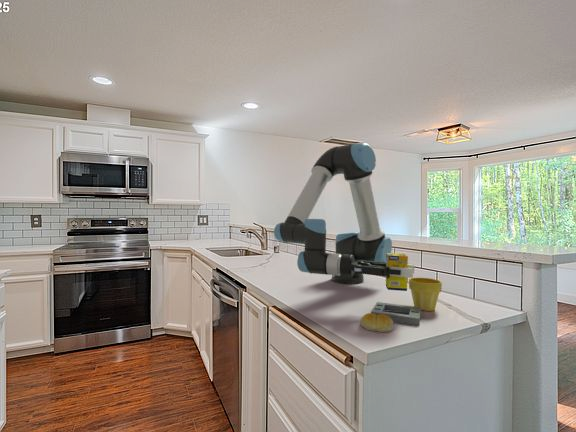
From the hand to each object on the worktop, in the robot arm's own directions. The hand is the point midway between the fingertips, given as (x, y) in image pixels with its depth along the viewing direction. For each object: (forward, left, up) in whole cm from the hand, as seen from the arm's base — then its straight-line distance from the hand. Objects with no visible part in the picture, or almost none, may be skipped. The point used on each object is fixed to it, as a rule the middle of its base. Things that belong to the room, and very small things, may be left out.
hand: (413, 271), depth 98 cm
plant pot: (-13, +3, -15) cm, 20 cm away
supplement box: (0, -5, -6) cm, 8 cm away
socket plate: (0, -5, -15) cm, 16 cm away
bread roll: (+12, -9, -15) cm, 22 cm away
